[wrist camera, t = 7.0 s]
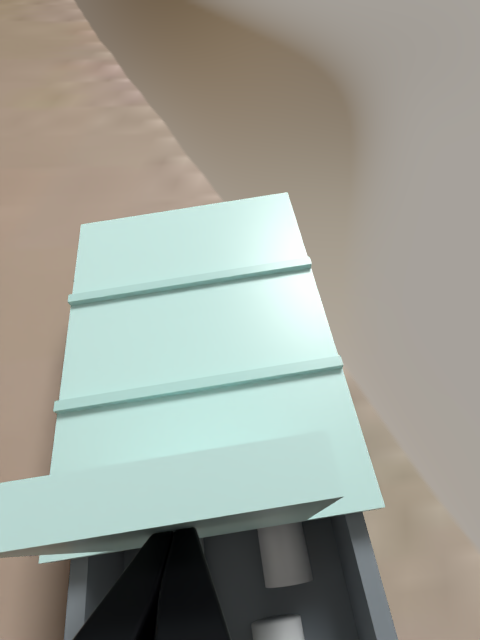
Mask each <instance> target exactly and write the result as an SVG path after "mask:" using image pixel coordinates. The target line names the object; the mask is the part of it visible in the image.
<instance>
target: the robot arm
mask: <svg viewBox="0 0 480 640" xmlns="http://www.w3.org/2000/svg"><path fill="white" fill-rule="evenodd" d="M72 640H232V639H231V636H230V633H229V630H228V626H227V623H226V620H225V617H224V614H223V611H222V608H221V604H220V601H219V598H218V595H217V592H216V589H215V586H214V583H213V579H212V576H211V573H210V570H209V567H208V564H207V561H206V558H205V554H204V551H203V548H202V545H201V542H200V539H199V536H198V532H197V530H196V528H195V527H191V528H185V529H179V530H176V531H175V532H173V531H166V532H160V533H154V534H152V535H151V536H150V537H149V538H148V540H147V541H146V542H145V544H144V545H143V546H142V548H141V549H140V550H139V552H138V553H137V554H136V556H135V557H134V558H133V560H132V561H131V562H130V564H129V565H128V566H127V568H126V569H125V570H124V572H123V573H122V574H121V576H120V577H119V578H118V580H117V581H116V582H115V584H114V585H113V586H112V588H111V589H110V590H109V592H108V593H107V594H106V596H105V597H104V598H103V600H102V601H101V602H100V604H99V605H98V606H97V607H96V609H95V610H94V611H93V613H92V614H91V615H90V617H89V618H88V619H87V621H86V622H85V623H84V625H83V626H82V627H81V629H80V630H79V631H78V633H77V634H76V635H75V637H74V638H73V639H72Z"/></svg>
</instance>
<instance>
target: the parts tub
mask: <svg viewBox="0 0 480 640" xmlns="http://www.w3.org/2000/svg"><path fill="white" fill-rule="evenodd" d="M199 539H200V542H201V545H202V548H203V551H204V554H205V558H206V561H207V564H208V567H209V570H210V573H211V576H212V579H213V583H214V586H215V589H216V592H217V595H218V598H219V601H220V604H221V608H222V611H223V614H224V617H225V620H226V623H227V626H228V630H229V633H230V636H231V639H232V640H398V638H397V634H396V631H395V627H394V624H393V620H392V616H391V613H390V609H389V606H388V602H387V599H386V595H385V591H384V588H383V584H382V581H381V577H380V574H379V570H378V566H377V563H376V559H375V556H374V552H373V549H372V545H371V541H370V538H369V534H368V531H367V527H366V523H365V520H364V516H363V513H362V512H357V513H351V514H345V515H339V516H333V517H327V518H321V519H314V520H308V521H302V522H296V523H290V524H284V525H278V526H272V527H265V528H259V529H253V530H247V531H241V532H235V533H229V534H223V535H216V536H210V537H204V538H199ZM140 549H141V548H137V549H131V550H124V551H118V552H112V553H106V554H100V555H94V556H88V557H81V558H75V559H71V564H70V576H69V587H68V599H67V610H66V622H65V633H64V640H72V639H73V638H74V637H75V635H76V634H77V633H78V631H79V630H80V629H81V627H82V626H83V625H84V623H85V622H86V621H87V619H88V618H89V617H90V615H91V614H92V613H93V611H94V610H95V609H96V607H97V606H98V605H99V604H100V602H101V601H102V600H103V598H104V597H105V596H106V594H107V593H108V592H109V590H110V589H111V588H112V586H113V585H114V584H115V582H116V581H117V580H118V578H119V577H120V576H121V574H122V573H123V572H124V570H125V569H126V568H127V566H128V565H129V564H130V562H131V561H132V560H133V558H134V557H135V556H136V554H137V553H138V552H139V550H140Z"/></svg>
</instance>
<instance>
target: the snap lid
mask: <svg viewBox="0 0 480 640" xmlns="http://www.w3.org/2000/svg"><path fill="white" fill-rule="evenodd" d="M68 303H69V304H70V305H71V309H70V317H69V325H68V333H67V341H66V349H65V357H64V365H63V373H62V381H61V389H60V397H59V400H58V401H55V403H54V410H53V411H54V412H55V413H57V421H56V429H55V436H54V444H53V452H52V460H51V468H50V475H47V476H40V477H34V478H28V479H22V480H16V481H9V482H3V483H0V558H3V557H20V556H37V555H40V556H39V564H40V563H50V562H57V561H63V560H69V559H75V558H81V557H88V556H94V555H100V554H106V553H112V552H118V551H124V550H131V549H137V548H142V546H143V545H144V544H145V542H146V541H147V540H148V538H149V537H150V536H151V535H152V534H154V533H160V532H166V531H173V532H175V531H176V530H179V529H185V528H191V527H195V528H196V530H197V532H198V536H199V538H204V537H210V536H216V535H223V534H229V533H235V532H241V531H247V530H253V529H259V528H265V527H272V526H278V525H284V524H290V523H296V522H302V521H308V520H314V519H321V518H327V517H333V516H339V515H345V514H351V513H357V512H364V511H370V510H376V509H381V508H384V507H385V505H384V501H383V498H382V495H381V492H380V488H379V485H378V482H377V479H376V476H375V472H374V469H373V466H372V463H371V460H370V456H369V453H368V450H367V447H366V443H365V440H364V437H363V434H362V431H361V427H360V424H359V421H358V418H357V414H356V411H355V408H354V405H353V402H352V398H351V395H350V392H349V389H348V386H347V382H346V379H345V376H344V373H343V369H342V367H343V362H342V359H341V356H338V353H337V350H336V347H335V344H334V341H333V338H332V334H331V331H330V328H329V325H328V321H327V318H326V315H325V312H324V308H323V305H322V302H321V299H320V296H319V292H318V289H317V286H316V283H315V279H314V276H313V273H312V270H311V260H310V257H307V254H306V250H305V247H304V244H303V241H302V238H301V234H300V231H299V228H298V225H297V221H296V218H295V215H294V212H293V209H292V205H291V203H290V199H289V196H288V193H287V192H286V193H280V194H273V195H267V196H261V197H255V198H248V199H241V200H235V201H229V202H222V203H216V204H209V205H203V206H197V207H190V208H184V209H177V210H171V211H165V212H158V213H152V214H145V215H139V216H133V217H126V218H120V219H113V220H107V221H101V222H94V223H88V224H81V229H80V237H79V245H78V253H77V261H76V269H75V277H74V285H73V293H72V294H71V295H69V296H68Z"/></svg>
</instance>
